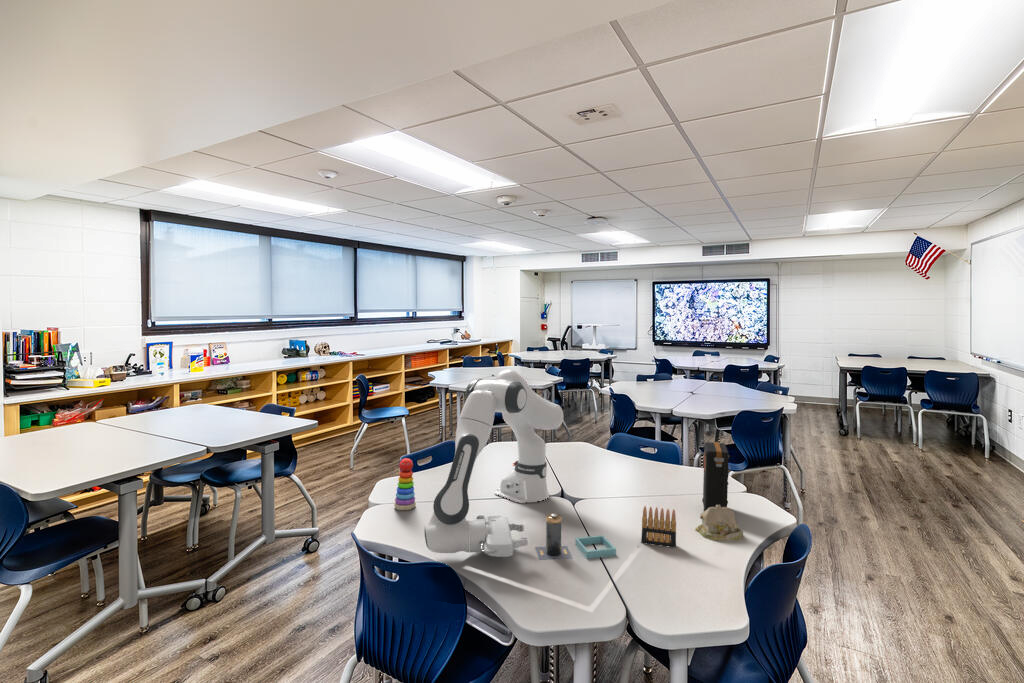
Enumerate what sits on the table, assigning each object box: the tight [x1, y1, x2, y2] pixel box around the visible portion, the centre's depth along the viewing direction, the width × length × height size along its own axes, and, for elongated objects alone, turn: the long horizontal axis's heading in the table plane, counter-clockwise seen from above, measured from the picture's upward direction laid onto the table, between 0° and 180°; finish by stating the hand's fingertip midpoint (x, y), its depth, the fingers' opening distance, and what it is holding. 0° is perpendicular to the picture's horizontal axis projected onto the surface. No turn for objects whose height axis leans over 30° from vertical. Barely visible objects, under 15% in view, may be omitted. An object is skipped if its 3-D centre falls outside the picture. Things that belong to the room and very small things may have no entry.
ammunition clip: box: [640, 505, 677, 548], centre depth 156 cm, size 11×2×12 cm, turn 73°
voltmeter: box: [701, 441, 730, 512], centre depth 182 cm, size 16×9×25 cm, turn 161°
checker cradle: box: [535, 545, 573, 561], centre depth 148 cm, size 10×8×1 cm
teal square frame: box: [574, 534, 617, 560], centre depth 149 cm, size 9×9×3 cm
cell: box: [545, 513, 563, 556], centre depth 147 cm, size 5×5×12 cm
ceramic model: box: [694, 505, 744, 541], centre depth 164 cm, size 14×11×10 cm
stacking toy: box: [393, 457, 417, 511], centre depth 185 cm, size 8×8×19 cm
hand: (525, 534), depth 147 cm, fingers open, 8 cm apart
